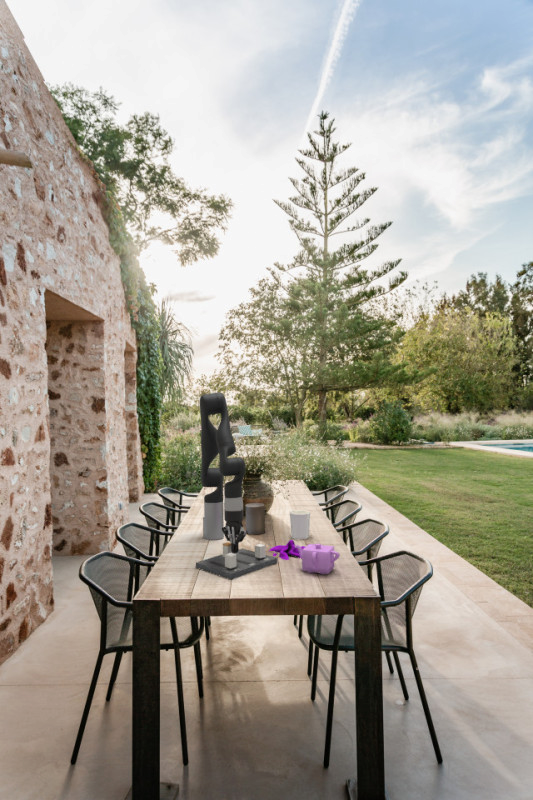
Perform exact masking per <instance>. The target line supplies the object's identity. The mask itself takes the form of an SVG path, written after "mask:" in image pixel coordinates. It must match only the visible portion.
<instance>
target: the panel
mask: <svg viewBox="0 0 533 800" xmlns="http://www.w3.org/2000/svg"><path fill="white" fill-rule="evenodd" d="M233 554H236V567H234V568H231V569H230V568H227V567H225V557H223V553H222V554H219V555H216V556H212V557H209V558H207V559H204V560H202V559H201V561H200V560H199V561H196V562H195V568H196V567H197V568H196V569H198V568H200V569H199V570H201V569H203V570H202V571H204V570H205V571H204V572H207V571H208V572H207V573H210V572H211V573H210V574H213V573H214V574H213V575H216V574H217V576H219V575H220V576H219V577H221V578H225V579H227V578H228V580H230V579H231V580H235V579H236V578H239V577H242V576H245V575H247V574H250V573H254V572H256V571H259V570H262V569H264V568H267V567H270V566H273V565H275V564H277V563H278V557H277V556H275V557H274V556H273V555H268V554H266V557H263V558H257V557H255V550H254V551H252V550H250V549H247V548H239V551H238V553H233Z"/></svg>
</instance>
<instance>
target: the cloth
mask: <svg viewBox="0 0 533 800" xmlns="http://www.w3.org/2000/svg"><path fill="white" fill-rule="evenodd" d="M294 545H296V543H295V540H293V539H290V540H289V541H288V542H287V543H286V544H285V545H283V544H281V545H275V546H273V547H271V548H270V549H269V550H268V552H269V551H275V552H272V553H273V554H272V557H274V556H275V557H277V556H278V558H280V559H282V560H285V561H289V560H290V558H289V556H288V555H290V557H291V555H292V557H295V556H296V558H298V557H299V558H298V559H300V554H299V551H298V548H297V547H296V546H294ZM300 547H301V548H302V550H303V549H304V548H305V547H306V546H304V545H302V546H300ZM277 554H278V555H277ZM276 555H277V556H276Z"/></svg>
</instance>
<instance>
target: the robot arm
mask: <svg viewBox="0 0 533 800" xmlns="http://www.w3.org/2000/svg"><path fill="white" fill-rule="evenodd" d="M199 412H200V427H201V428H200V448H201V449H200V451H201V452H200V453H201V465H200V466H201V467H200V484H201V486H202V487H203V488H216V489H215V490H214V491H212V492H210V493H207V494H206V495H204V496H203V509H204V510H203V512H204V513H203V515H204V516H203V517H202V537H203V538H204V539H205V540H209V541H210V540H211V541H215V540H217V541H218V540H221V539H224V537H225V539H226V542H230V543H231V551H232V553H238V551H239V549H240V548H239V545H240V544H239V543H242V542H243V541H244V540H245V537H246V536H247V530H246V529H244V525H243V520H244V502H243V481H244V478H245V473H246V467H247V465H246V462H245V461H246V460H244V459H243V458H242V457H231V456H233V455H235V454H236V452H237V447H236V443H235V441H234V437H233V434H232V430H231V422H230V415H229V410H228V405H227V400H226V397H225V395H224V393H222V392H213V393H212V392H211V393H204V394H202V395H200V398H199ZM219 414H220V417H221V418H220V422H219V424H218V428H216V426H214V424H213V423H212V421H211V420H210V417H209V416H212V415H219ZM217 456H219V457H218V458H219V462H218V463H219V464H218V467H210V466H211V463H213V461H214V460H215V459H216V458H217ZM232 476H234V477H233V478H232V480H230V481H228V482H226V483H224V481H225V480H224V479H225V477H232ZM224 522H225V523H224Z"/></svg>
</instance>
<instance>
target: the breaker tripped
mask: <svg viewBox="0 0 533 800" xmlns="http://www.w3.org/2000/svg"><path fill="white" fill-rule="evenodd" d="M229 553H232V551H231V543H230V541H226V542H223V543H222V554H223V557H225V554H229Z"/></svg>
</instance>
